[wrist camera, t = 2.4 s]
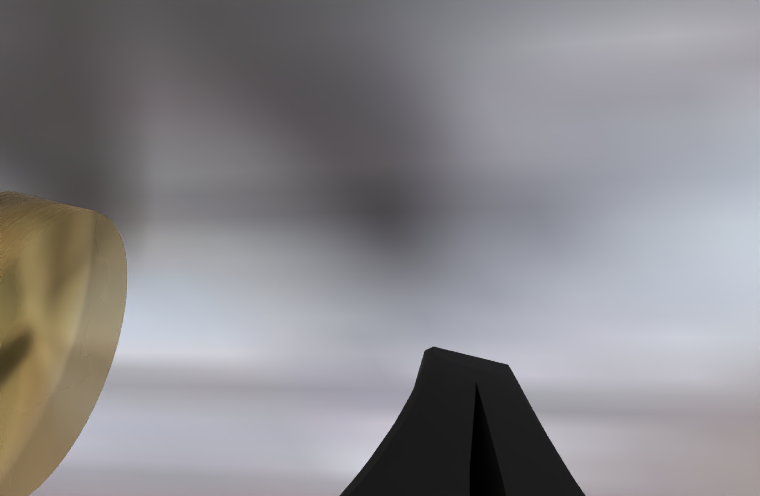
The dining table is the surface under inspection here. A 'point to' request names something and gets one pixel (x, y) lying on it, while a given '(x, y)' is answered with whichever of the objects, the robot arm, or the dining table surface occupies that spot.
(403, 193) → the dining table surface
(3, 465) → the shaft
